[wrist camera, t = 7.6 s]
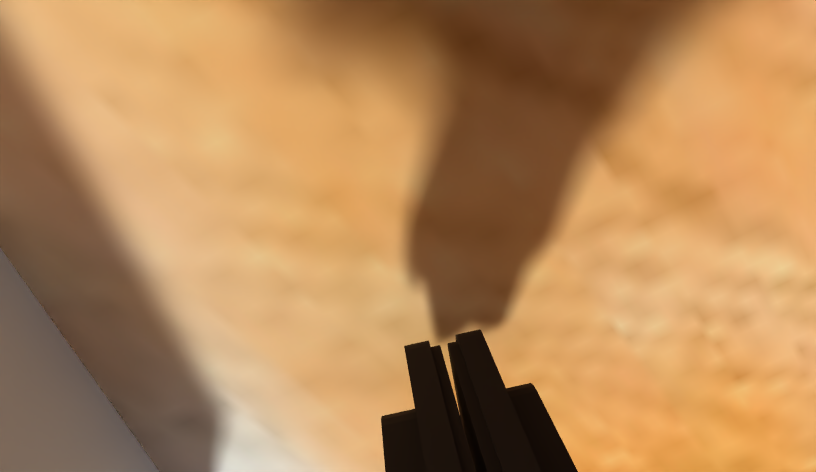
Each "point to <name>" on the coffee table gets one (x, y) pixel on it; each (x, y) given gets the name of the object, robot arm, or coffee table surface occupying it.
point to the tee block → (53, 397)
